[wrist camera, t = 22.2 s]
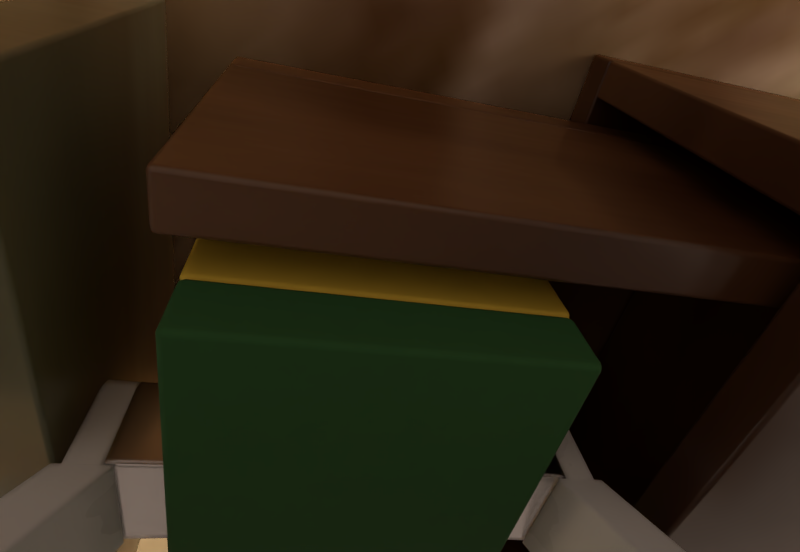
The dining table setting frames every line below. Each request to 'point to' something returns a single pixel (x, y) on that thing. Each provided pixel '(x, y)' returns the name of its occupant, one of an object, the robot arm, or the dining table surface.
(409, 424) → the sponge
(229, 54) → the dining table surface
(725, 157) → the cabinet
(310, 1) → the dining table surface
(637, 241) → the drawer
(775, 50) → the dining table surface
